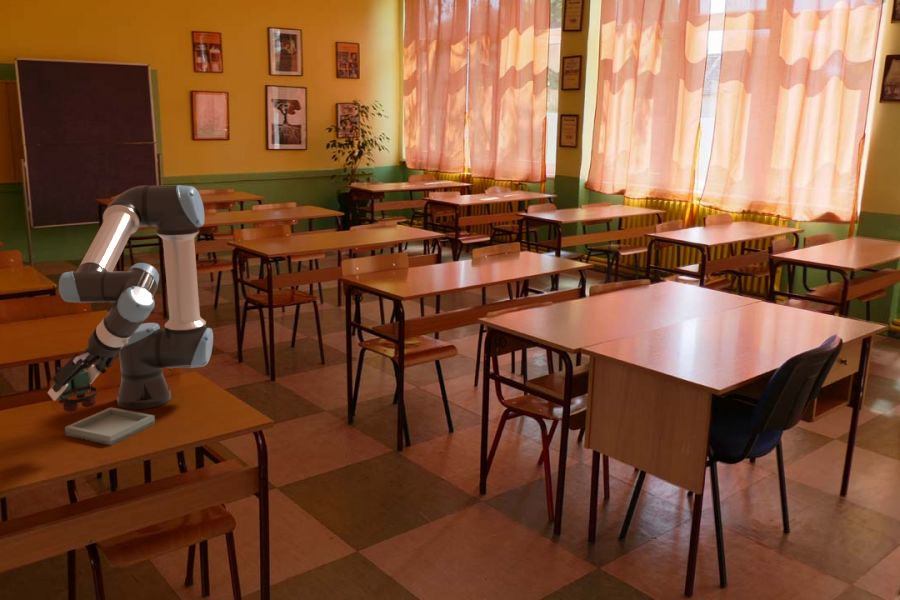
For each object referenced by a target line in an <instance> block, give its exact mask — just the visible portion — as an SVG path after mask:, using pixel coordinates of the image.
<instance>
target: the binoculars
mask: <svg viewBox="0 0 900 600" xmlns="http://www.w3.org/2000/svg"><path fill="white" fill-rule="evenodd" d="M63 367H64V366H57V367H56V371H57V373H58V372H59V371H60V370H61V369H62V368H63ZM87 371H88V370H86V369H84V370H83V371H82V372H81V373H79V374H78V375H77V376H76V377H75V378H73V379H72V380H71V381H70V382H69V383H67V384H68V386H67V387H66V389H65V390H64V391H63V393H62V394H61V395H60V396H59V398H58V399H57V400H58V401H57V407H62V408H63V410H64V411H65V412H72V413H73V412H77V411H78V408H79V403H81V406H82V407H84V408H90V407H93V406H95V405H96V403H97V402H96V396H97V395H98V389H97V388H96V387H95V386H93V385H92V384H93V383H92V384H89V380H88V373H87ZM90 392H91V393H92V394H90V395H86V394H89V393H90ZM93 392H94V393H93ZM73 395H75V398H73V399H72V398H71V397H72V396H73ZM69 398H71V399H69Z"/></svg>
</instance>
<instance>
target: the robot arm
mask: <svg viewBox="0 0 900 600" xmlns="http://www.w3.org/2000/svg"><path fill="white" fill-rule="evenodd" d="M205 216H206V215H205V208H204V203H203V199H202V196H201V194H200V193H199V191H198V189H197V188H196V187H195V186H192V185H190V186H189V185H182V184H175V185H174V184H173V185H172V184H171V185H169V184H167V185H165V184H163V185H138V186H134V187H131V188H129V189H127V190H125V191H123V192H122V193H120V194H119V195H117V196H116V197H115V198H114V199H113V200H111V201H110V203H109V204H108V205H107V207H106V208H105V210H104V212H103V214H102V221H103V222H102V224H101V226H100V228H99V230H98V231H97V233H96V234H95V237H94V239H93V241H92V242H91V244H90V246H89V248H88V250H87V252H86V254H85V256H84V257H83V259H82V260H81V263H80V264H79V266H78V268H77V270H76V271H74V270H71V271H66V272H63V273H61V275H60V277H59V281H58V292H59V295H60V297H61V299H62V300H63V301H64V302H66V303H79V304H84V303H85V304H86V303H114V304H113V306H112V307H111V309H109V311H108V312H107V314H106V315H104V317H103V318H102V320H101V321H100V323H99V324H98V325H97V326H96V328H95V329H94V330H93V332H92V333H91V334H90V335H89V337H88V341H87V343H88V344H87V345H88V346H87V348H86V349H85V350H84V351H83V352H82V353H81V354H80V355H79V354H78V353H74V354H73V355H72V356H71V358H70V360H68V362H66V364H65V365H63V366H62V367H63V368H62V369H61V370H60V371H59V372H57V373H56V374H55V375H54V376H53V377H51V381H52V382H53V385H51V387H50V389H49V390H48V391H47V395H49V397H50V398H51V399H52V400H53V401H54V402H55V401H57V400H58V398H59V396H60V395H61V394H62V393H63V391H64V390H65V389H66V387H67V386H68V384H67V383H69V382H70V381H71V380H72V379H73V378H75V377H76V376H77V375H78V374H79V373H81V372H82V371H83V370H86V369H88V370H86V371H87V373H88V380H89V384H93V383H94V381H95V380H96V379H97V378H98V377H99V374H102V375H103V374H106V372H107V370H106V368H107V369H109V368H111V367H112V365H113V363H114V362H115V360H116V357H119V365H120V367H119V368H120V375H121V376H120V377H121V379H120V383H119V388H118V393H117V395H116V400H117V402H116V403H117V406H118V407H120V408H122V409H125V410H126V409H127V410H143V409H144V410H145V409H151V408H155V407H159V406H162V405H164V404H167V403H168V402H169V401H170V400H171V399H172V395H171V394H172V393H171V389H170V387H169V385H168V383H167V381H166V377H165V375H164V373H163V372H164V371H163V369H171V368H172V369H173V368H174V369H175V368H176V369H177V368H178V369H179V368H183V369H185V368H188V369H189V368H190V369H194V368H202V367H203V368H204V367H205V366H206V365H207V364H208V363H209V361H210V358H211V356H212V352H213V345H214V344H213V343H214V332H213V329H212V328H211V327H207V321H206V320H205V319H203V318H202V317H201V314H200V313H201V312H200V298H199V285H198V273H197V271H198V270H197V260H196V248H195V247H196V244H195V237H196V236H197V235H199V233H200V228H201V227H203V226H204V224H205V220H206V219H205ZM144 227H147V228H149V227H151V228H154V227H155V229H156V235H157V236H158V237H160V238H161V239H162V246H163V256H164V269H165V271H164V272H165V280H166V292H167V294H166V295H167V304H168V305H167V306H168V316H169V318H168V321H166V322H165V324H164V328H160V327H161V326H160V325H159V323H157V322H145V323H143V322H144V321H145V320H146V319H147V318H148V317H150V315H151V312H152V311H153V309H154V308H155V304H156V303H155V302H156V301H155V298H154V296H155V294H156V292H157V290H158V286H159V282H160V281H159V280H160V274H159V272H158V269H156V268H155V267H154V266H153V265H151V264H149V263H147V262H146V263H145V262H138V263H135V264H133V265H132V266H131V267H130V268H129V269H128V270H127V271H125V270H124V271H123V270H121V271H119V270H118V271H117V270H116V271H114V270H115V267H116V265H117V263H118V261H119V259H120V257H121V255H122V253H123V251H124V249H125V247H126V245H127V244H128V243H127V242H128V241H129V238H130V237H131V235H133V234H135V233H136V232H137V231H138V230H139V228H144ZM118 355H119V356H118Z"/></svg>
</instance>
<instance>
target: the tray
mask: <svg viewBox="0 0 900 600" xmlns="http://www.w3.org/2000/svg"><path fill="white" fill-rule="evenodd" d="M155 416H156V415H153V414H148V413H144V412H138V411H133V410H129V409H127V410H126V409H123V408H122V409H121V408H117V407H112V406H111V407H108V408H105V409H104V410H101V411H98V412H96V413H94V414H91V415H90V416H87V417H85V418H82V419H80V420H78V421H76V422H73V423H70V424H68V425H66V426H65V427H64V432H65V436H66V435H67V436H66V437H69V436H71V437H70V438H74V437H76V438H75V439H78V438H81V439H80V440H83V439H85V440H84V441H88V440H89V441H88V442H93V443H98V444H103V445H107V446H113V445H115V444H117V443H119V442H122V441H123V440H125V439H127V438H130V437H132V436H134V435H135V434H137V433H139V432H142V431H143V430H145V429H146V430H147V428H150V427H152V426H154V425H156V418H155Z"/></svg>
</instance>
